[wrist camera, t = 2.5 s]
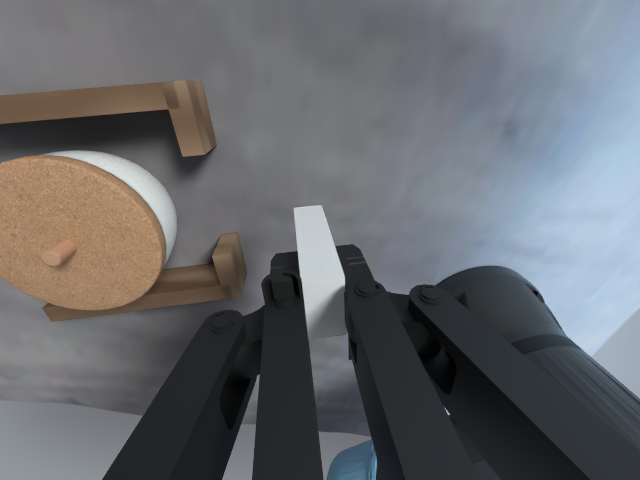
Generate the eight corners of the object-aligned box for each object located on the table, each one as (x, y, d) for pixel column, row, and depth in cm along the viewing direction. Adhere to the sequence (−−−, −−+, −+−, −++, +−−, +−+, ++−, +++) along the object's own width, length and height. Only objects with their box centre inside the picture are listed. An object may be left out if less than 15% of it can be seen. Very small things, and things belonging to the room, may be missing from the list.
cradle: (246, 272, 29) (241, 297, 26) (80, 292, 28) (51, 321, 25) (201, 82, 21) (185, 80, 18) (-32, 101, 20) (-99, 103, 17)
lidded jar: (68, 110, 21) (-71, 122, 13) (211, 176, 24) (174, 220, 16) (46, 228, 25) (-71, 296, 17) (173, 271, 28) (127, 346, 20)
